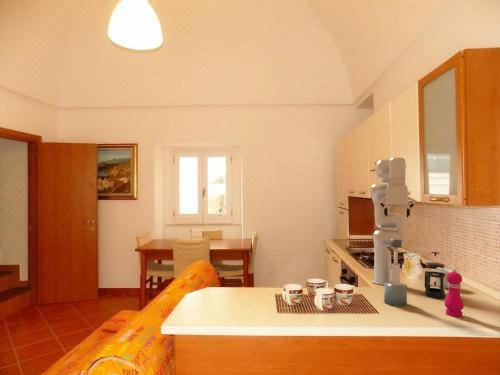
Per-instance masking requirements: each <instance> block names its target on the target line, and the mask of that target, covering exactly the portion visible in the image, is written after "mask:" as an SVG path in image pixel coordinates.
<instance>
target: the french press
mask: <svg viewBox="0 0 500 375" xmlns="http://www.w3.org/2000/svg"><path fill="white" fill-rule="evenodd" d="M431 254H434V255H433V257H434V261H432V262H431V261H430V262H425V265H426V268H427V269H430V270H431V269H435V272H433V271H429V270H428V271H427V270H426V271H424V288H425V292H424V296H425V297H427V298H431V299H436V300H437V299H438V300H445V299H446V290H444V289H443V287H444V284H443V278H444V277H445V274H444V273H440V272H436V268H443V269H445V266H446V264H445V263H441V262H436V261H437V259H436V258H437V254H441V253H440V252H438V251H431ZM433 274H435V275H433ZM436 274H437V275H436ZM434 277H435V282H434V281H431V278H434ZM436 278H440V283H436ZM439 287H440V288H439Z"/></svg>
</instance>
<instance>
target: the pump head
mask: <svg viewBox="0 0 500 375" xmlns="http://www.w3.org/2000/svg"><path fill="white" fill-rule="evenodd" d="M389 247H390V248H393V264H394V265H398V264H399V262H398V261H399V258H398V257H399V254H398V253H399V248H401V249H402V247H403V246H402V240H400V239H390V246H389Z"/></svg>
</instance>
